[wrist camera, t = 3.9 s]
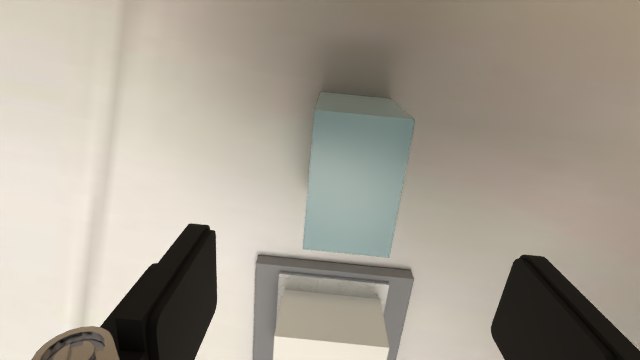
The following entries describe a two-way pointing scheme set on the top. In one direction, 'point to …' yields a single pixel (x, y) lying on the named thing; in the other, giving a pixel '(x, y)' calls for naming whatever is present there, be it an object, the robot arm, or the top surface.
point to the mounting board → (328, 280)
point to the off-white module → (329, 328)
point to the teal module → (356, 174)
